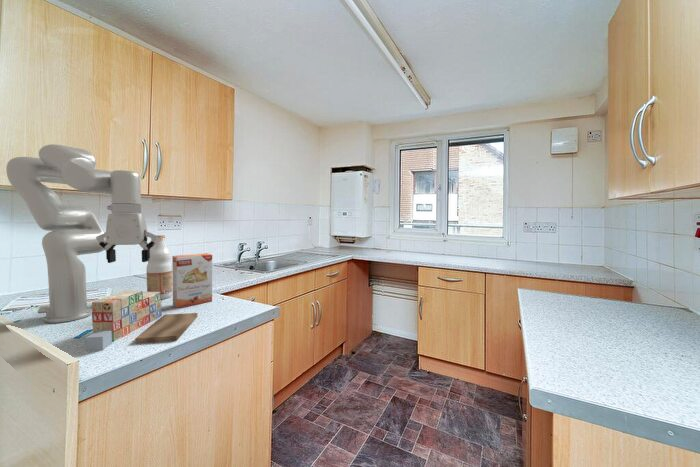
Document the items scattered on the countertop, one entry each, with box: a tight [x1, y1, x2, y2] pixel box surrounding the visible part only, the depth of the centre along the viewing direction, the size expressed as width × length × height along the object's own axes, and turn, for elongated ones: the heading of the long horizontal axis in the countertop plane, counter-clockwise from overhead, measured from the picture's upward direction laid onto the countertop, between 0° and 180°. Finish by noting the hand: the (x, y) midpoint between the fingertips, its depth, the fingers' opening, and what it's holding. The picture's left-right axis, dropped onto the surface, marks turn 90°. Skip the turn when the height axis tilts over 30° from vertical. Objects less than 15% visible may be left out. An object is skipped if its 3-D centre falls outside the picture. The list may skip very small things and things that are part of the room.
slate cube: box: [85, 331, 113, 352], centre depth 80 cm, size 4×4×4 cm
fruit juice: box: [146, 234, 173, 301], centre depth 126 cm, size 9×9×28 cm
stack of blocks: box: [91, 290, 163, 343], centre depth 94 cm, size 21×6×12 cm, turn 0°
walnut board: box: [134, 312, 198, 344], centre depth 94 cm, size 11×20×2 cm, turn 12°
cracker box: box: [171, 252, 213, 309], centre depth 119 cm, size 14×6×21 cm, turn 137°
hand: (128, 261), depth 92 cm, fingers open, 9 cm apart
